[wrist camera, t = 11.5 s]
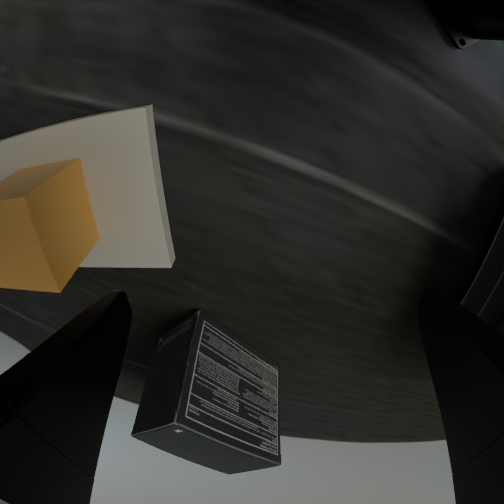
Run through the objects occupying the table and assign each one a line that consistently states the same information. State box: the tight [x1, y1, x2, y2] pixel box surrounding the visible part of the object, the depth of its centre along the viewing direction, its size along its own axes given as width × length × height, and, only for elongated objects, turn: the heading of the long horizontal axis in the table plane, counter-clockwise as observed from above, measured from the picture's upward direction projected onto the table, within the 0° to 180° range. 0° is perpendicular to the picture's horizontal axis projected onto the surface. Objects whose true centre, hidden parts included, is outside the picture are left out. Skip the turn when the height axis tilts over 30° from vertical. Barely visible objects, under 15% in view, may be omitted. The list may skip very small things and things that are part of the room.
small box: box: [131, 310, 281, 474], centre depth 24 cm, size 11×6×10 cm, turn 43°
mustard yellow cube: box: [0, 158, 100, 293], centre depth 17 cm, size 6×6×6 cm
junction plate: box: [0, 105, 175, 268], centre depth 18 cm, size 16×11×5 cm, turn 92°
